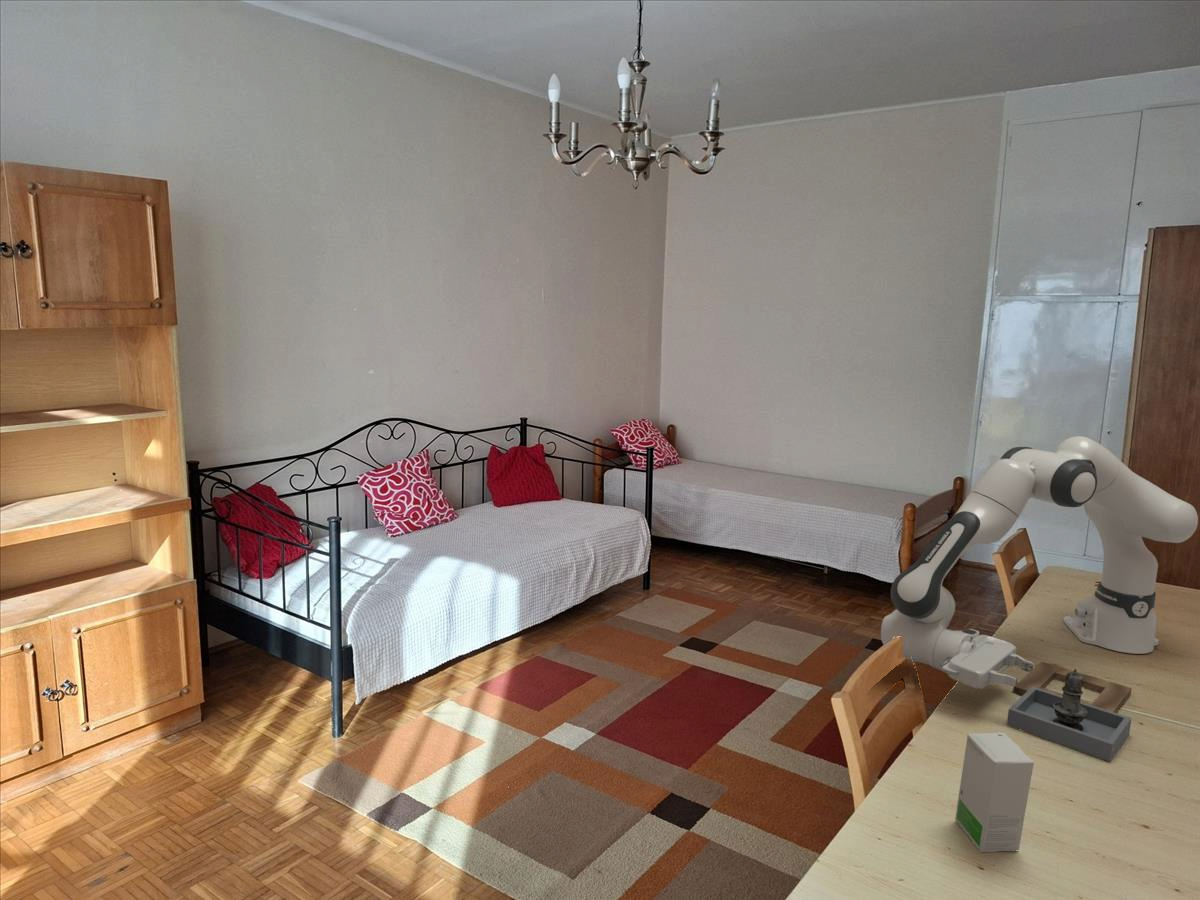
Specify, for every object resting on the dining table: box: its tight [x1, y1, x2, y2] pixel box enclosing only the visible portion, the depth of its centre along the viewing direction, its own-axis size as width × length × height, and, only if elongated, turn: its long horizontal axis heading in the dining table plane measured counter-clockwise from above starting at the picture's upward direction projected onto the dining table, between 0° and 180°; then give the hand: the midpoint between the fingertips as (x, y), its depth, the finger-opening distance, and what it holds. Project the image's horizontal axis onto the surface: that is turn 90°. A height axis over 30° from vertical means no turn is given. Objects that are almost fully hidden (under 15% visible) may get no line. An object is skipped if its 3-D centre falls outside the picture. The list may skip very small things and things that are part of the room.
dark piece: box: [1053, 668, 1087, 731], centre depth 162 cm, size 6×6×12 cm
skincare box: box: [954, 732, 1035, 853], centre depth 128 cm, size 8×7×16 cm
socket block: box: [1012, 661, 1132, 713], centre depth 178 cm, size 18×18×2 cm
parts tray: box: [1006, 686, 1133, 763], centre depth 162 cm, size 18×14×4 cm
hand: (1024, 674), depth 167 cm, fingers open, 8 cm apart
